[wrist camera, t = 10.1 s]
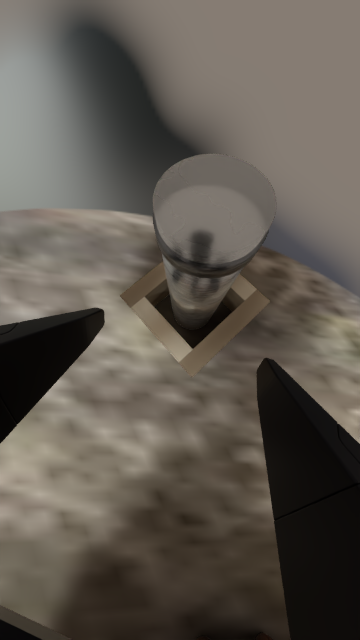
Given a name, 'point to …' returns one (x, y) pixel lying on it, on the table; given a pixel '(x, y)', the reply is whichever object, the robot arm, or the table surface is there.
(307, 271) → the table surface
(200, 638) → the decorative turtle
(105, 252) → the table surface
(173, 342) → the socket block
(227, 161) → the silver metal cylinder
